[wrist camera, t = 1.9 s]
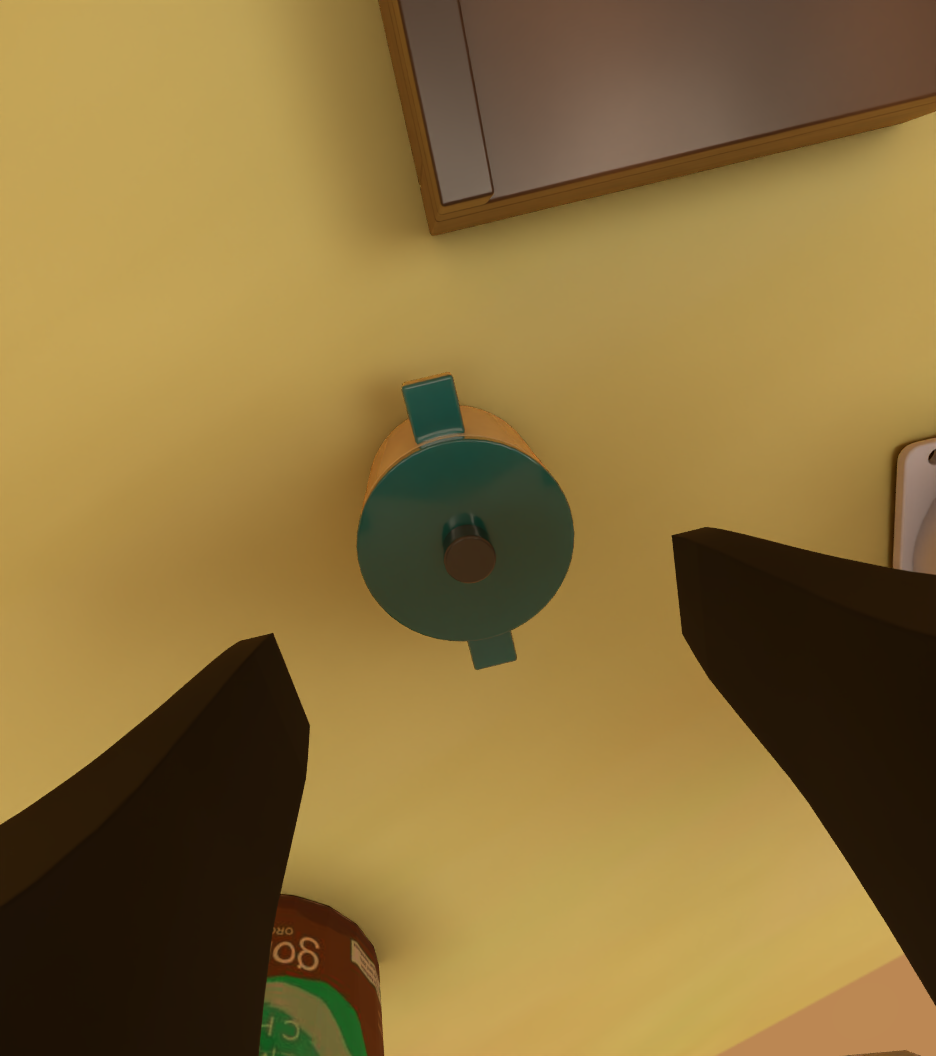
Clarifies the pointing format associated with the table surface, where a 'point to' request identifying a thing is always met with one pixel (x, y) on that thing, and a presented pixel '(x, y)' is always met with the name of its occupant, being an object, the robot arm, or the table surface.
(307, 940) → the food container
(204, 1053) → the robot arm
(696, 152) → the shelf
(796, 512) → the table surface
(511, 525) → the pot
